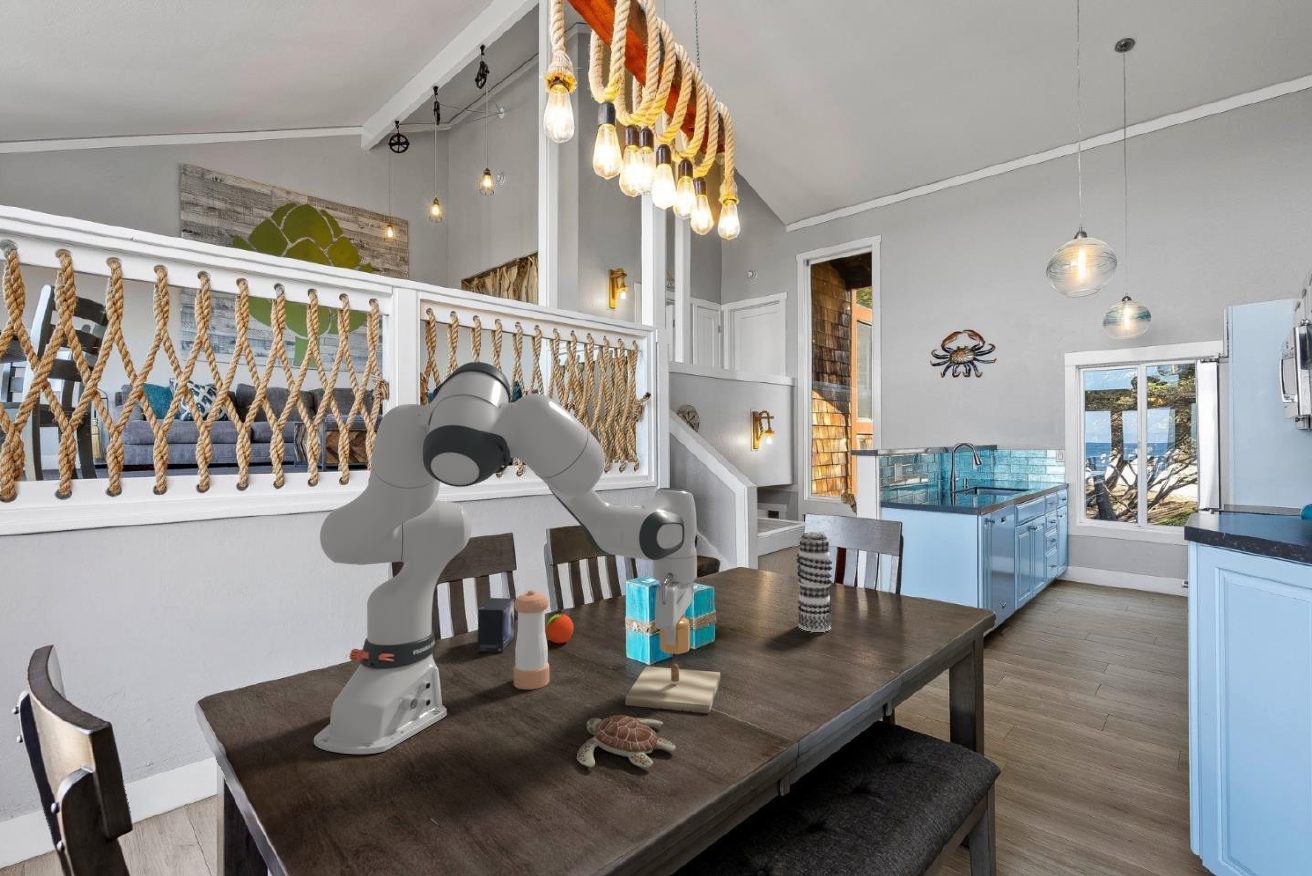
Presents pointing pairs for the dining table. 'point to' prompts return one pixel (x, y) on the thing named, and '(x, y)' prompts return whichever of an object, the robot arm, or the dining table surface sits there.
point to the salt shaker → (531, 642)
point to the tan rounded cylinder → (677, 638)
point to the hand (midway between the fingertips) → (674, 638)
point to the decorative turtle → (623, 739)
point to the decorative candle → (814, 582)
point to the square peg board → (674, 689)
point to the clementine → (559, 628)
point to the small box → (495, 625)
